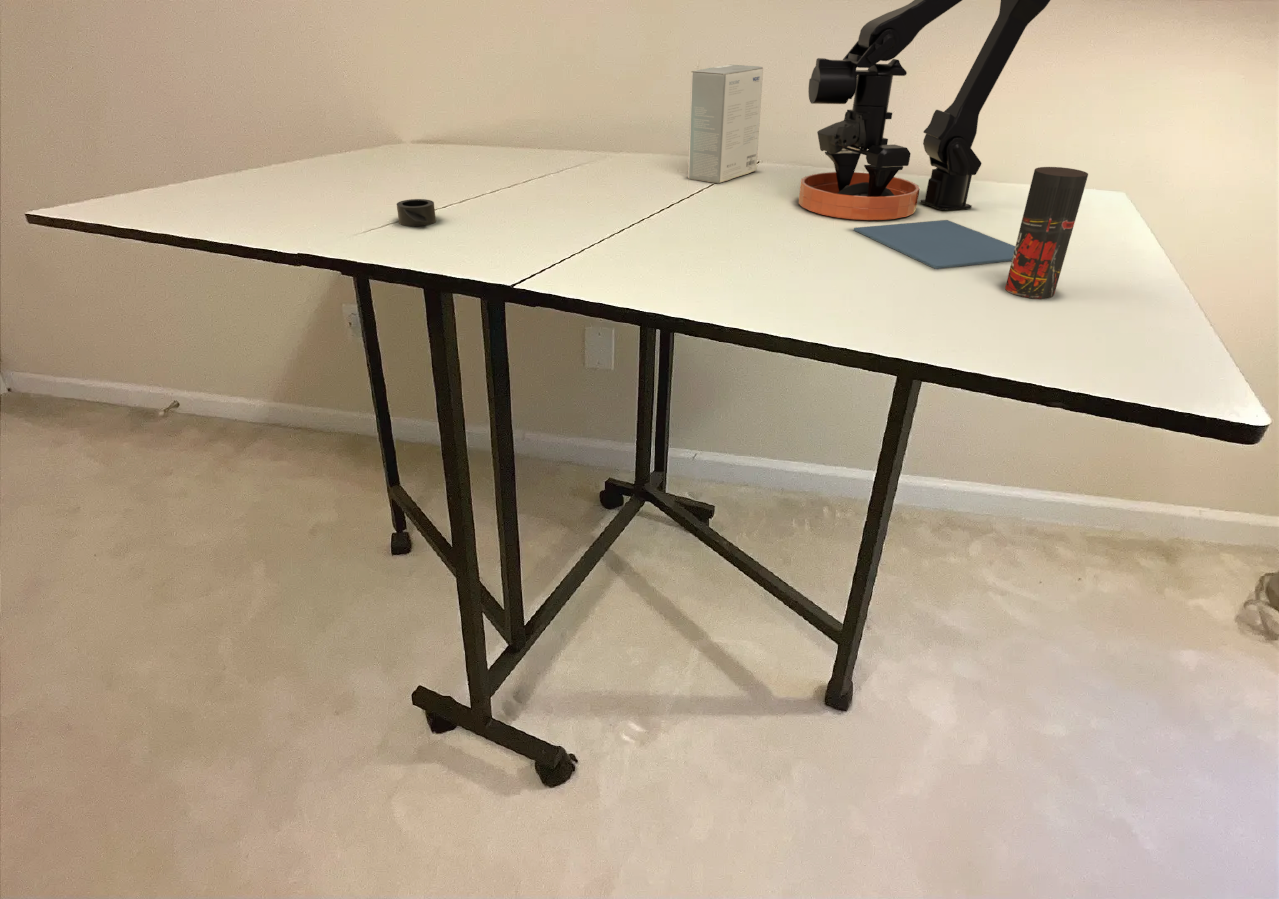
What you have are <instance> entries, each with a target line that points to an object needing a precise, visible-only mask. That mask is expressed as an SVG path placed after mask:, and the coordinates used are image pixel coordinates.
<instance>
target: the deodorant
mask: <svg viewBox="0 0 1279 899" xmlns="http://www.w3.org/2000/svg"><path fill="white" fill-rule="evenodd" d="M1088 177H1089V173H1088V172H1086V171H1084V170H1081V169H1076V168H1070V167H1062V166H1039V167H1036V168H1035V169H1034V170H1033V175H1032V179H1031V182H1030V187H1029V191H1028V194H1027V198H1026V201H1025V202H1026V203H1025V207H1024V210H1023V214H1022V219H1021V222H1020V226H1019V231H1018V235H1017V238H1016V243H1015V245H1014V246H1015V250H1014V254H1013V258H1012V261H1010V266H1009V271H1008V274H1007V278H1006V282H1005V286H1004V287H1005V288H1004V289H1005V291H1006V292H1008V293H1009V294H1012V295H1013V296H1016V297H1022V298H1027V299H1034V300H1045V299H1046V300H1047V299H1051V298H1053V297H1055V294H1056V290H1057V286H1058V282H1059V279H1060V275H1061V272H1062V269H1063V265H1064V262H1065V258H1066V255H1067V252H1068V248H1069V243H1070V242H1071V241H1070V240H1071V238H1072V234H1073V231H1074V226H1075V223H1076V220H1077V216H1078V213H1079V210H1080V206H1081V202H1082V198H1083V195H1084V191H1085V188H1086V184H1087V181H1088Z"/></svg>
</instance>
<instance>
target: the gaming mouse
mask: <svg viewBox="0 0 1279 899" xmlns="http://www.w3.org/2000/svg"><path fill="white" fill-rule="evenodd" d="M868 186H869V182H861V183H857V184H853V185H851V186H849V185H847V186H845V187H844V189H843V190H841V191H839V192H838V193H837V194H845V195H854V196H868ZM881 196H895V195H894V194H893V193H892V192H891V190H889V189H888V188H885V190H884V191H883V193H882V194H881Z"/></svg>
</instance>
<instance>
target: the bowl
mask: <svg viewBox="0 0 1279 899" xmlns="http://www.w3.org/2000/svg"><path fill="white" fill-rule="evenodd" d="M861 182H869V173H868V172H862V171H861V172H859V171H857V172H856V171H854V174H853V177H852V179H851V182H850V185H849V186H851V185H853V184H857V183H861ZM886 188H888V189H889V190H891V192H892V193H893V194H894V195H895V196H854V195H845V194H837V193H838V192H839V189H838V183H837V177H836V171H829V172H828V171H827V172H818V173H813V174H808V175H805V176H804V177H802V178H801V179H800V186H799V196H798V205H799V206H801V208H803V209H806V210H808V211H810V212H813V213H815V214H818V215H822V216H827V217H831V218H836V219H842V220H843V219H844V220H853V221H854V220H855V221H888V220H889V221H890V220H896V219H900V218H906V217H909V216H912V215H913V214H914V213H915V212H916V211H917V207H918V206H917V205H918V201H919V195H920V190H921V189H920V187H919V185H918V184H916V183H915V182H913V181H910V180H908V179H904V178H901V177H898V176H894V177H893V179H892V180H891V181H890V182H889V184H888V185H887V187H886Z"/></svg>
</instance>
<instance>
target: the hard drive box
mask: <svg viewBox="0 0 1279 899" xmlns="http://www.w3.org/2000/svg"><path fill="white" fill-rule="evenodd" d="M690 72H691V73H690V103H689V104H690V105H689V134H688V136H689V138H688V163H687V164H688V165H687V168H688V169H687V178H688V179H689V180H694V181H701V182H709V183H713V184H720V183H724V182H728V181H730V180H733V179H735V178H738V177H741V176H744V175H748V174H750V173H754V172H756V171H757V168H758V166H757V165H758V152H759V136H760V124H761V123H760V122H761V108H762V107H761V105H762V93H763V77H764V76H763V75H764V68H763V66H759V65H758V66H757V65H744V64H725V65H720V66H719V65H718V66H713V67H707V68H702V69H696V70H692V71H690Z"/></svg>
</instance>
